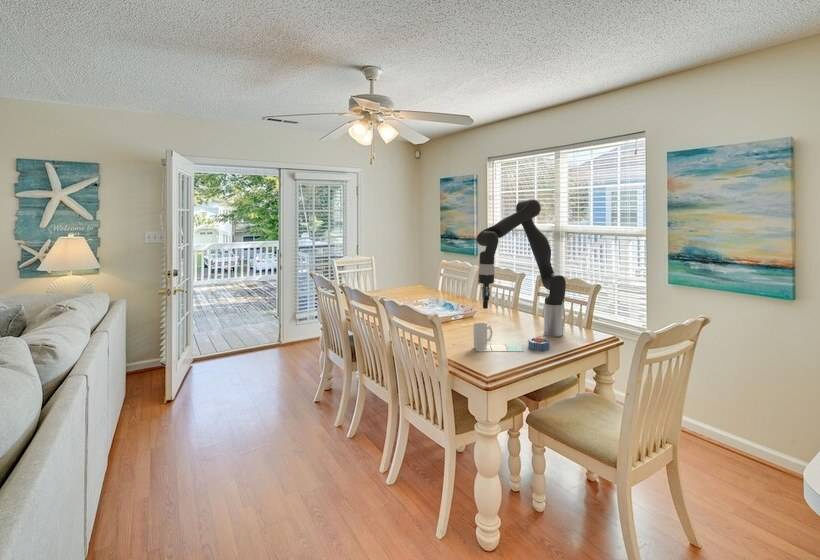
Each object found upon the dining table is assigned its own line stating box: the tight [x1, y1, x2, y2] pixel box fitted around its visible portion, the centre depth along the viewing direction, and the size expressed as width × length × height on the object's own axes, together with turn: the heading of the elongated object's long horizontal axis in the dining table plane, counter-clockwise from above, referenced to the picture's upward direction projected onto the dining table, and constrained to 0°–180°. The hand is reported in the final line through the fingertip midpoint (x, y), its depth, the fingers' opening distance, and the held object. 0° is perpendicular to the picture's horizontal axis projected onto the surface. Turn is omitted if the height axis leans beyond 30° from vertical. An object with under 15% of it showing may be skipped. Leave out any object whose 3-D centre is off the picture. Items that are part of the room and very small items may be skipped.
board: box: [475, 343, 525, 353], centre depth 210 cm, size 22×11×1 cm, turn 85°
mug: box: [473, 322, 493, 350], centre depth 209 cm, size 10×7×12 cm, turn 109°
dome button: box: [533, 336, 545, 343], centre depth 208 cm, size 6×6×5 cm
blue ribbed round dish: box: [527, 336, 550, 352], centre depth 208 cm, size 10×10×4 cm
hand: (485, 308), depth 207 cm, fingers closed
